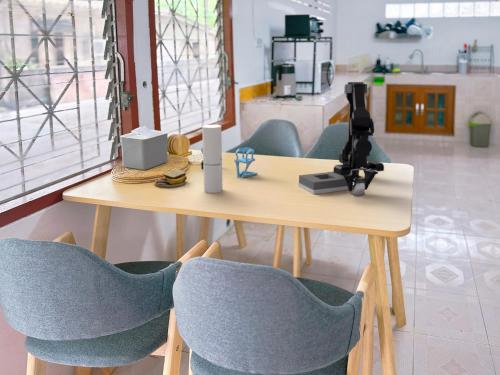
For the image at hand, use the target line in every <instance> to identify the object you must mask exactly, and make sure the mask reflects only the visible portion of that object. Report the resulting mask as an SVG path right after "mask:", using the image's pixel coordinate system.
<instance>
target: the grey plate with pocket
mask: <svg viewBox="0 0 500 375" xmlns="http://www.w3.org/2000/svg"><path fill="white" fill-rule="evenodd" d="M298 187H299V188H301V189H303V190H304V191H307V192H308V193H311V194H313V195H315V194H326V193H333V192H339V191H341V192H342V191H349V189H348V186H347V183H346V180H345V178H344V176H342V175H339V174H336V173H334V172H333V171H325V172H318V173H317V172H316V173H309V174H308V173H307V174H300V175H298Z"/></svg>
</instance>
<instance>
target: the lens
mask: <svg viewBox="0 0 500 375" xmlns="http://www.w3.org/2000/svg"><path fill="white" fill-rule="evenodd" d="M365 192H366V191H365V177H355V178H354V180H353V187H352V191H351V192H350V195H351V196H354V197H364V196H365V194H366V193H365Z"/></svg>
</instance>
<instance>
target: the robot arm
mask: <svg viewBox="0 0 500 375" xmlns="http://www.w3.org/2000/svg"><path fill="white" fill-rule="evenodd" d="M343 89H344V94H345V97H346V100H347V101H348V103H349V104H348V120H347V121H348V122H347V123H348V124H347V139H346V140H345V141H344V143H343V148H342V149H341V152H340V154H339V155H338V162H339V164H335V165H334V167H333V171H332V172H334V173H336V174H339V175H342V176H344V178H345V180H346V183H347V186H348V189H349V190H348V192H350V193H351V191H352V187H353V180H354V178H355V177H360V178H362V176H361V175H360V171H363V174H364V178H365V190H366V191H367V190H368V188H369V187H370V184H371V183H372V181H373V179H374V178H376V177H375V176H376V175H377V174H379V172H384V171H385V165H384V163H383V162H380V161H377V160H374V161H368V157H370V153H371V151H372V149H373V145H372V144H373V143H372V142H371V141H370V140H369V138H370V137H374V133H375V122H374V120H373V118H371V113H370V112H369V110H367V106H366V96H365V95H366V94H368V84H367V83H364V81H348V82H347V83H346V84H345V85H344V88H343Z"/></svg>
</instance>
